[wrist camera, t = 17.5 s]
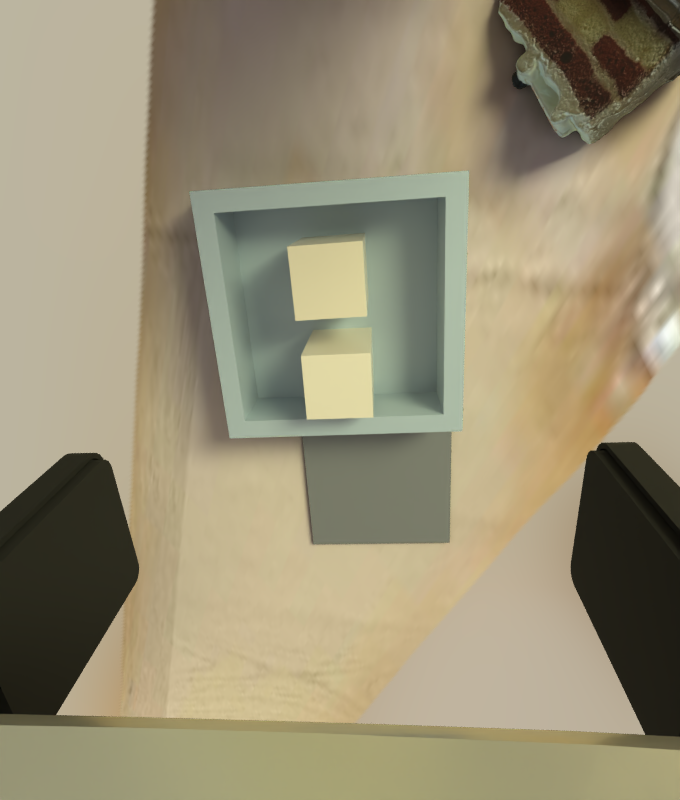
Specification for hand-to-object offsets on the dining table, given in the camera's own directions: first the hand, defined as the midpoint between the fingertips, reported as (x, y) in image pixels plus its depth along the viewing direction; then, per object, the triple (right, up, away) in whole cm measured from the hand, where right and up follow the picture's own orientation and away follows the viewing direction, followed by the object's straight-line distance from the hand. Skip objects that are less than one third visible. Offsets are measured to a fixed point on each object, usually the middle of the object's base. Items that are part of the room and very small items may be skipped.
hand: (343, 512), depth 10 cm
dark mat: (+3, -4, +29) cm, 30 cm away
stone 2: (0, +5, +25) cm, 26 cm away
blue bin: (0, +9, +24) cm, 26 cm away
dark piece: (+13, +22, +18) cm, 31 cm away
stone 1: (0, +11, +23) cm, 25 cm away
